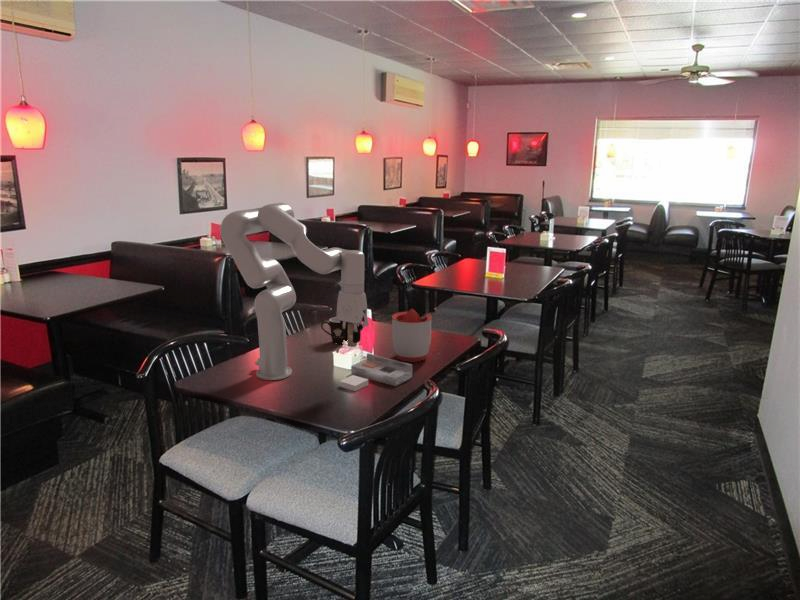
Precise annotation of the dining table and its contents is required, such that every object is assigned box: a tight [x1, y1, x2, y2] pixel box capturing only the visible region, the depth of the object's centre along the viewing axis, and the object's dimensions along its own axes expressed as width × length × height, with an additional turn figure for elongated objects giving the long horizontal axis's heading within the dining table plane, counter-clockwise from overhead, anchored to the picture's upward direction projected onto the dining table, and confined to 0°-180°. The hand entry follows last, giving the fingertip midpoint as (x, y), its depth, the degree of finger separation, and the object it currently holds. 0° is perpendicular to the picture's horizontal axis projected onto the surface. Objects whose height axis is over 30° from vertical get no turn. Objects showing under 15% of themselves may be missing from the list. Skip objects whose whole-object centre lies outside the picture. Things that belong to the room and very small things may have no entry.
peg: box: [347, 322, 358, 348], centre depth 189 cm, size 3×3×8 cm
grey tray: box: [350, 352, 413, 387], centre depth 202 cm, size 20×10×5 cm, turn 55°
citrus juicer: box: [391, 308, 433, 363], centre depth 219 cm, size 16×17×20 cm
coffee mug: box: [320, 316, 344, 345], centre depth 239 cm, size 12×9×10 cm
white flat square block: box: [339, 374, 369, 392], centre depth 193 cm, size 7×7×2 cm
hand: (352, 340), depth 189 cm, fingers closed on peg, 3 cm apart
